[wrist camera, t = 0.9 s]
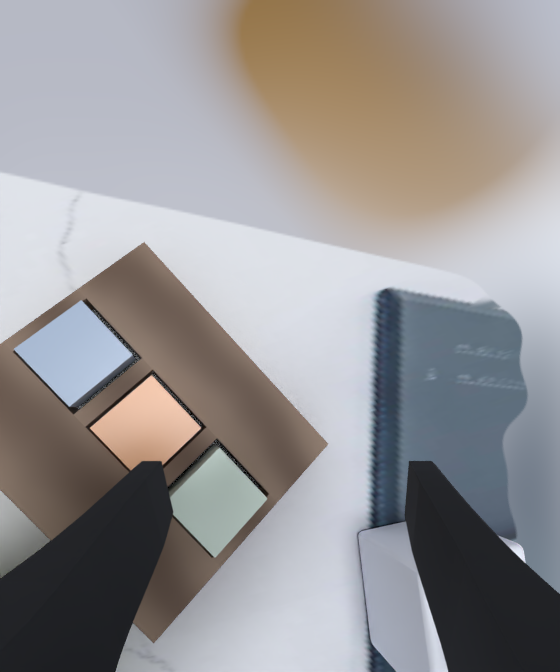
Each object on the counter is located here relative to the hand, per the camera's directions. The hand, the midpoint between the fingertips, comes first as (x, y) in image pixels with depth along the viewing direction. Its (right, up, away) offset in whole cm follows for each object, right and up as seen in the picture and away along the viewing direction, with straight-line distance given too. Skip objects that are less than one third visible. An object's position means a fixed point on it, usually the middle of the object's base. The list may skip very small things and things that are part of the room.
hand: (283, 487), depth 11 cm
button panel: (-8, -1, +13) cm, 15 cm away
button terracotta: (-8, -1, +12) cm, 14 cm away
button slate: (-12, +3, +11) cm, 16 cm away
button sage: (-4, -5, +12) cm, 14 cm away
